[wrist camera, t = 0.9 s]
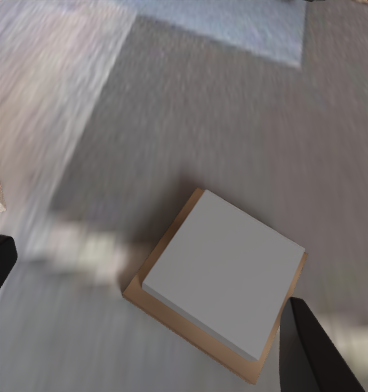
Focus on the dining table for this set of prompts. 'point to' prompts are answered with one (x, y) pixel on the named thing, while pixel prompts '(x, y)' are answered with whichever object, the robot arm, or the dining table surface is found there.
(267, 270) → the tower top
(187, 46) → the dining table surface
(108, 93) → the dining table surface
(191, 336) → the tower base
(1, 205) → the tall block
